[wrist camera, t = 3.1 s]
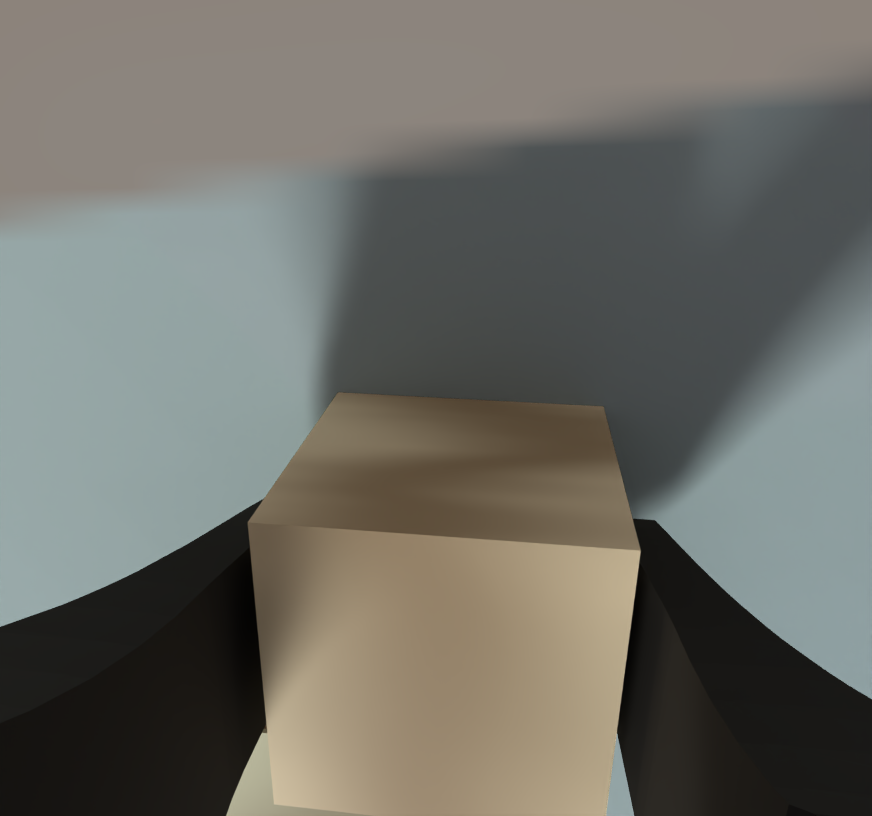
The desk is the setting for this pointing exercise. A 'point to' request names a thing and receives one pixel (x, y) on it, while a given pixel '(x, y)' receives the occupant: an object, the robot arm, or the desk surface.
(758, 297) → the desk surface
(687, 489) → the desk surface
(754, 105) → the desk surface
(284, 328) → the desk surface
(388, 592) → the birch cube
